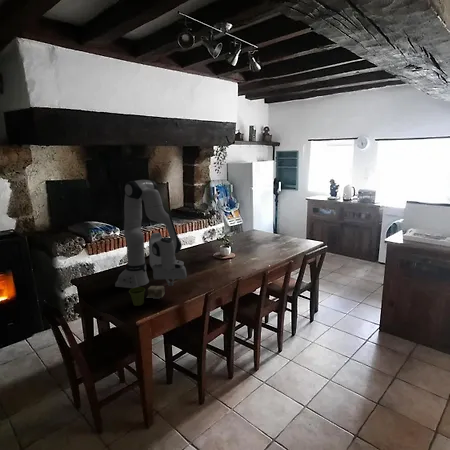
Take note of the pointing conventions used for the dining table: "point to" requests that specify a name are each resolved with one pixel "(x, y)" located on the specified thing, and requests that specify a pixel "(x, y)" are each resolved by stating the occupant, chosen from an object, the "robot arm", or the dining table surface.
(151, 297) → the grey mat
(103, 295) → the dining table surface
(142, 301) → the plant pot
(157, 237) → the milk
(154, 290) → the beech block
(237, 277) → the dining table surface
